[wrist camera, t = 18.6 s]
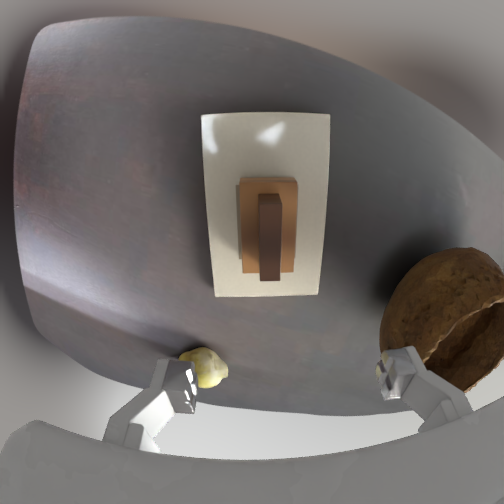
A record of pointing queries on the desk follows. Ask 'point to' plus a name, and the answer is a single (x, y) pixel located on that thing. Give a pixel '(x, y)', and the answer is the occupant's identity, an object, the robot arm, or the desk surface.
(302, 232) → the tile
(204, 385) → the fruit
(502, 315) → the bowl
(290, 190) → the brush
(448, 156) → the desk surface
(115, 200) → the desk surface
